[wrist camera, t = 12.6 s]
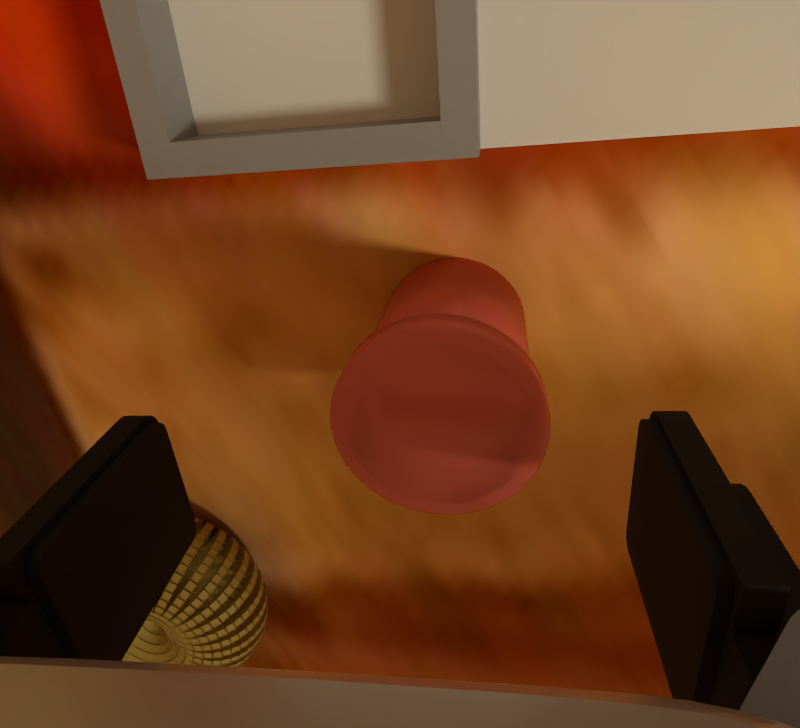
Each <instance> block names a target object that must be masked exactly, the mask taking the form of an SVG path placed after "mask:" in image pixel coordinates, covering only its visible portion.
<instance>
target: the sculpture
mask: <svg viewBox="0 0 800 728" xmlns="http://www.w3.org/2000/svg"><path fill="white" fill-rule="evenodd" d="M194 518H195V517H194ZM195 522H196V534H195V537H194V540H193V542H192V543H191V545H190V547H189V548H188V550H187V552H186V553H185V555H184V557H183V558H182V560H181V562H180V564H179V565H178V567H177V569H176V570H175V572H174V574H173V575H172V577H171V579H170V580H169V582H168V584H167V585H166V587H165V589H164V590H163V592H162V593H164V594H162V596H161V598H160V599H159V601H158V600H157V602H156V604H155V605H154V607H153V609H152V610H151V612H150V614H149V615H148V617H147V619H146V621H145V622H144V624H143V626H142V627H141V629H140V631H139V632H138V634H137V636H136V637H135V639H134V641H133V642H132V644H131V646H130V647H129V649H128V651H127V652H126V654H125V656H124V657H123V659H122V661H129V662H148V663H168V664H187V665H206V666H224V667H239V666H242V665H243V664H244V662H245V661H246V660H247V659H248V658H249V656H250V654H251V653H252V652H254V650H255V649H256V645H258V642H260V641H259V640H260V638H261V637H262V635H263V631H264V629H265V626H266V624H265V623H266V619H267V613H268V610H267V608H268V598H267V594H266V593H267V590H266V587H265V584H264V580H263V577H262V574H261V572H260V570H259V569H258V567H256V566H257V564H256V563H255V561H254V560H253V559H252V557H250V556H248V554H249V553H248V552H247V550H246V549H245V548H244V547H243V546H241V545H240V544H239V543H238V541H237V540H236V539H233V537H231V536H230V537H227V532H225V531H224V530H223V531H222V529H219V530H218V531H217V532H216V533H215V535H213V537H212V538H210V540H209V537H210V536H211V534H212V531H213V530H214V527H215V525H213V524H211V523H209V522H207V523H206V524H205V525H204V523H203V520H202V519H200V518H197V517H196V518H195ZM208 540H209V541H208ZM207 541H208V543H207ZM239 589H240V590H239ZM189 600H190V603H189ZM176 611H177V614H176ZM217 611H218V612H217ZM216 612H217V613H216ZM231 614H232V615H231ZM226 632H227V633H226ZM218 635H219V636H218Z"/></svg>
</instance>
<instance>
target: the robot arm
mask: <svg viewBox="0 0 800 728" xmlns="http://www.w3.org/2000/svg"><path fill="white" fill-rule="evenodd" d="M195 534H196V522H195V518H194V515H193V512H192V509H191V506H190V503H189V499H188V496H187V493H186V490H185V487H184V484H183V480H182V477H181V474H180V471H179V468H178V465H177V462H176V458H175V455H174V452H173V449H172V446H171V443H170V439H169V436H168V433H167V430H166V428H165V426H164V425H163V424H162V423H159V422H158V420H157V419H156V418H155V417H153V416H123V417H122V418H121V419H119V420H118V421H117V422H116V423H115V424H114V425H113V426H112V427H111V428H110V429H109V430H108V431H107V432H106V433H105V434H104V435H103V436H102V437H101V438H100V439H99V440H98V441H97V442H96V443H95V444H94V445H93V446H92V447H91V448H90V449H89V450H88V451H87V452H86V453H85V454H84V455H83V456H82V457H81V458H80V459H79V460H78V461H77V462H76V463H75V464H74V465H73V466H72V467H71V468H70V469H69V470H68V471H67V472H66V473H65V474H64V475H63V476H62V477H61V478H60V479H59V480H58V481H57V482H56V483H55V484H54V485H53V486H52V487H51V488H50V489H49V490H48V491H47V492H46V493H45V494H44V495H43V496H42V497H41V498H40V499H39V500H38V501H37V502H36V503H35V504H34V505H33V506H32V507H31V508H30V509H29V510H28V511H27V512H26V513H25V514H24V515H23V516H22V517H21V518H20V519H19V520H18V521H17V522H16V523H15V524H14V525H13V526H12V527H11V528H10V529H9V530H8V531H7V532H6V533H5V534H4V535H3V536H2V537H1V538H0V728H800V570H799V569H798V567H797V566H796V564H795V562H794V561H793V559H792V558H791V556H790V555H789V553H788V551H787V550H786V548H785V547H784V545H783V543H782V542H781V540H780V539H779V537H778V535H777V534H776V532H775V531H774V529H773V527H772V526H771V524H770V523H769V521H768V519H767V518H766V516H765V515H764V513H763V512H762V510H761V508H760V507H759V505H758V504H757V502H756V500H755V499H754V497H753V496H752V494H751V492H750V491H749V490H748V489H747V488H746V486H744V485H742V484H730V482H729V481H728V479H727V477H726V475H725V474H724V472H723V470H722V469H721V467H720V465H719V464H718V462H717V460H716V459H715V457H714V455H713V454H712V452H711V450H710V448H709V447H708V445H707V443H706V442H705V440H704V438H703V437H702V435H701V433H700V432H699V430H698V428H697V427H696V425H695V423H694V422H693V420H692V418H691V416H690V415H689V414H688V412H686V411H653V412H652V413H651V415H650V419H642V420H640V423H639V428H638V437H637V445H636V454H635V462H634V471H633V479H632V488H631V496H630V505H629V513H628V522H627V531H626V539H627V547H628V552H629V555H630V558H631V562H632V565H633V568H634V571H635V575H636V578H637V581H638V585H639V588H640V591H641V594H642V598H643V601H644V604H645V608H646V611H647V614H648V618H649V621H650V624H651V627H652V631H653V634H654V637H655V641H656V644H657V647H658V650H659V654H660V657H661V660H662V664H663V667H664V670H665V673H666V677H667V680H668V683H669V687H670V690H671V693H672V697H673V698H666V697H658V696H650V695H642V694H633V693H622V692H609V691H597V690H584V689H572V688H559V687H547V686H534V685H521V684H505V683H489V682H473V681H458V680H442V679H426V678H410V677H395V676H379V675H362V674H345V673H328V672H311V671H294V670H277V669H259V668H241V667H224V666H206V665H187V664H168V663H148V662H129V661H122V659H123V657H124V656H125V654H126V652H127V651H128V649H129V647H130V646H131V644H132V642H133V641H134V639H135V637H136V636H137V634H138V632H139V631H140V629H141V627H142V626H143V624H144V622H145V621H146V619H147V617H148V615H149V614H150V612H151V610H152V609H153V607H154V605H155V604H156V602H157V600H158V599H159V597H160V595H161V594H162V592H163V590H164V589H165V587H166V585H167V584H168V582H169V580H170V579H171V577H172V575H173V574H174V572H175V570H176V569H177V567H178V565H179V564H180V562H181V560H182V558H183V557H184V555H185V553H186V552H187V550H188V548H189V547H190V545H191V543H192V542H193V540H194V537H195Z"/></svg>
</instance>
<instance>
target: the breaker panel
mask: <svg viewBox="0 0 800 728" xmlns="http://www.w3.org/2000/svg"><path fill="white" fill-rule="evenodd" d="M100 4H101V8H102V12H103V15H104V19H105V23H106V27H107V30H108V34H109V38H110V42H111V45H112V49H113V53H114V57H115V60H116V64H117V68H118V72H119V75H120V79H121V83H122V87H123V90H124V94H125V98H126V102H127V105H128V109H129V113H130V117H131V120H132V124H133V128H134V132H135V135H136V139H137V143H138V147H139V150H140V154H141V158H142V162H143V165H144V169H145V173H146V177H147V180H152V179H167V178H181V177H196V176H211V175H225V174H240V173H255V172H269V171H284V170H299V169H313V168H328V167H343V166H357V165H372V164H386V163H401V162H416V161H430V160H445V159H460V158H474V157H479V154H480V149H483V148H497V147H511V146H526V145H540V144H554V143H568V142H582V141H596V140H611V139H625V138H639V137H653V136H667V135H681V134H695V133H710V132H724V131H738V130H752V129H766V128H780V127H795V126H800V0H100Z"/></svg>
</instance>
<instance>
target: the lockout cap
mask: <svg viewBox="0 0 800 728" xmlns="http://www.w3.org/2000/svg"><path fill="white" fill-rule="evenodd" d="M330 420H331V429H332V433H333V437H334V441H335V443H336V446H337V448H338V451H339V453H340V454H341V456H342V458H343V460H344V462H345V463H346V464H347V466H348V467H349V468H350V470H351V471H352V472H353V473H354V474H355V475H356V477H357V478H358V479H359V480H360V481H361V482H363V483H364V484H365V485H366V486H367V487H368V488H370V489H371V490H373V491H374V492H375V493H377V494H378V495H380V496H382V497H384V498H385V499H387V500H389V501H391V502H393V503H396V504H398V505H401V506H403V507H406V508H409V509H413V510H416V511H421V512H426V513H434V514H460V513H469V512H473V511H477V510H482V509H485V508H487V507H490V506H493V505H495V504H497V503H499V502H502V501H504V500H506V499H507V498H509V497H510V496H512V495H513V494H515V493H516V492H517V491H519V490H520V489H521V488H522V487H523V486H524V485H526V483H527V482H528V481H529V480H530V479H531V478H532V477H533V476H534V474H535V472H536V471H537V469H538V468H539V466H540V465H541V463H542V460H543V458H544V456H545V454H546V450H547V447H548V443H549V436H550V416H549V410H548V403H547V397H546V392H545V387H544V384H543V381H542V379H541V376H540V374H539V372H538V370H537V368H536V366H535V365H534V363H533V361H532V360H531V359H530V357H529V353H528V343H527V334H526V325H525V316H524V311H523V306H522V304H521V301H520V298H519V296H518V295H517V293H516V291H515V289H514V288H513V287H512V285H511V284H510V283H509V282H508V281H507V280H506V279H505V278H504V277H503V276H502V275H501V274H499V273H498V272H497V271H495V270H494V269H492V268H490V267H489V266H487V265H484V264H482V263H480V262H476V261H473V260H468V259H462V258H448V259H440V260H436V261H432V262H429V263H427V264H424V265H422V266H420V267H418V268H417V269H415V270H414V271H412V272H411V273H410V274H408V275H407V276H406V277H405V278H404V279H403V280H402V281H401V282H400V284H399V285H398V286H397V288H396V289H395V291H394V293H393V294H392V296H391V299H390V301H389V303H388V305H387V307H386V310H385V312H384V314H383V316H382V318H381V320H380V323H379V325H378V327H377V329H376V331H375V332H374V333H373V334H371V335H370V336H369V337H368V338H367V339H365V340H364V341H363V342H362V343H361V344H360V345H359V346H358V348H357V349H356V350H355V351H354V353H353V354H352V356H351V357H350V359H349V361H348V362H347V364H346V366H345V368H344V370H343V372H342V374H341V376H340V378H339V380H338V382H337V385H336V387H335V390H334V392H333V397H332V401H331V411H330Z"/></svg>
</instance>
